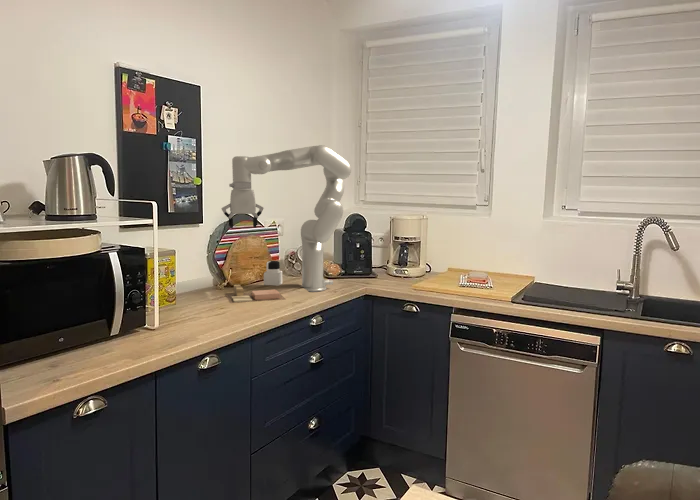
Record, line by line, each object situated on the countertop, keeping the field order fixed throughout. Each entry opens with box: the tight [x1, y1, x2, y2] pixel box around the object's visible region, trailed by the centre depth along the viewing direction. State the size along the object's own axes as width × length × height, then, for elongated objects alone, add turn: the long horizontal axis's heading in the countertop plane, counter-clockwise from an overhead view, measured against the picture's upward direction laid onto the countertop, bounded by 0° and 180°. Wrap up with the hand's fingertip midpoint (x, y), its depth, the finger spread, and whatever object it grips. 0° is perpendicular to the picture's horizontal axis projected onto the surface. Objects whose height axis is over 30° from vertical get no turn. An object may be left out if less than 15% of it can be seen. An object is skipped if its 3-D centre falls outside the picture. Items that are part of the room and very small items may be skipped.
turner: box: [231, 284, 252, 303], centre depth 212 cm, size 17×7×4 cm, turn 21°
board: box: [224, 292, 286, 304], centre depth 214 cm, size 22×16×2 cm
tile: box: [251, 289, 281, 300], centre depth 213 cm, size 10×2×8 cm
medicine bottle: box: [263, 260, 283, 287], centre depth 241 cm, size 7×7×12 cm
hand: (243, 227), depth 219 cm, fingers open, 9 cm apart
